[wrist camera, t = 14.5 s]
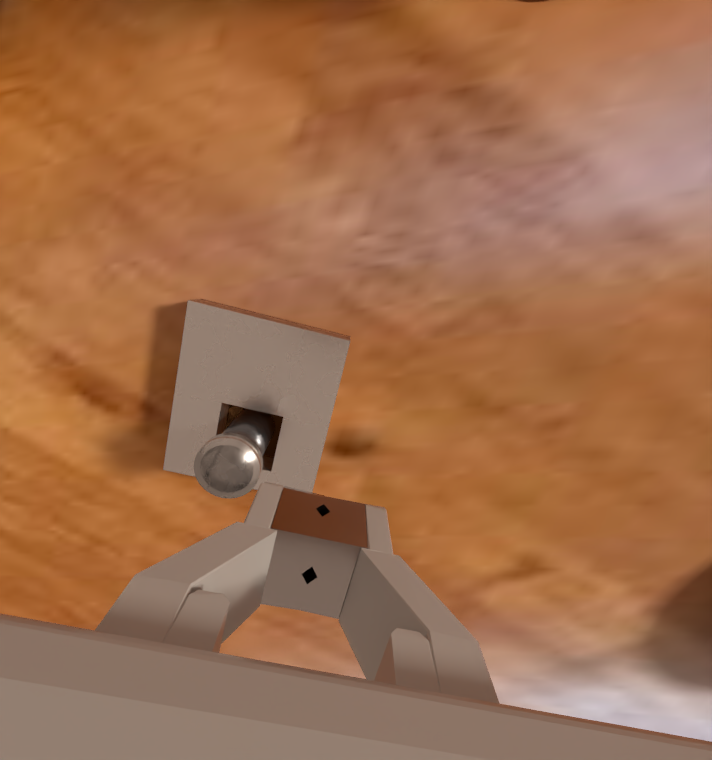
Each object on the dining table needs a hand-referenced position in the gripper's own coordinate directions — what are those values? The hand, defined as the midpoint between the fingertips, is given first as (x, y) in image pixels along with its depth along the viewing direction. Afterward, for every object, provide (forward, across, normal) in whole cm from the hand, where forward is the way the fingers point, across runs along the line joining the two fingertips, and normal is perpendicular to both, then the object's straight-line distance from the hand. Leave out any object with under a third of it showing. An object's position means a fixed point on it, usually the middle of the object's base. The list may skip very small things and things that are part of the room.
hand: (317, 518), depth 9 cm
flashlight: (+27, +6, +11) cm, 30 cm away
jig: (+27, +6, +8) cm, 29 cm away
